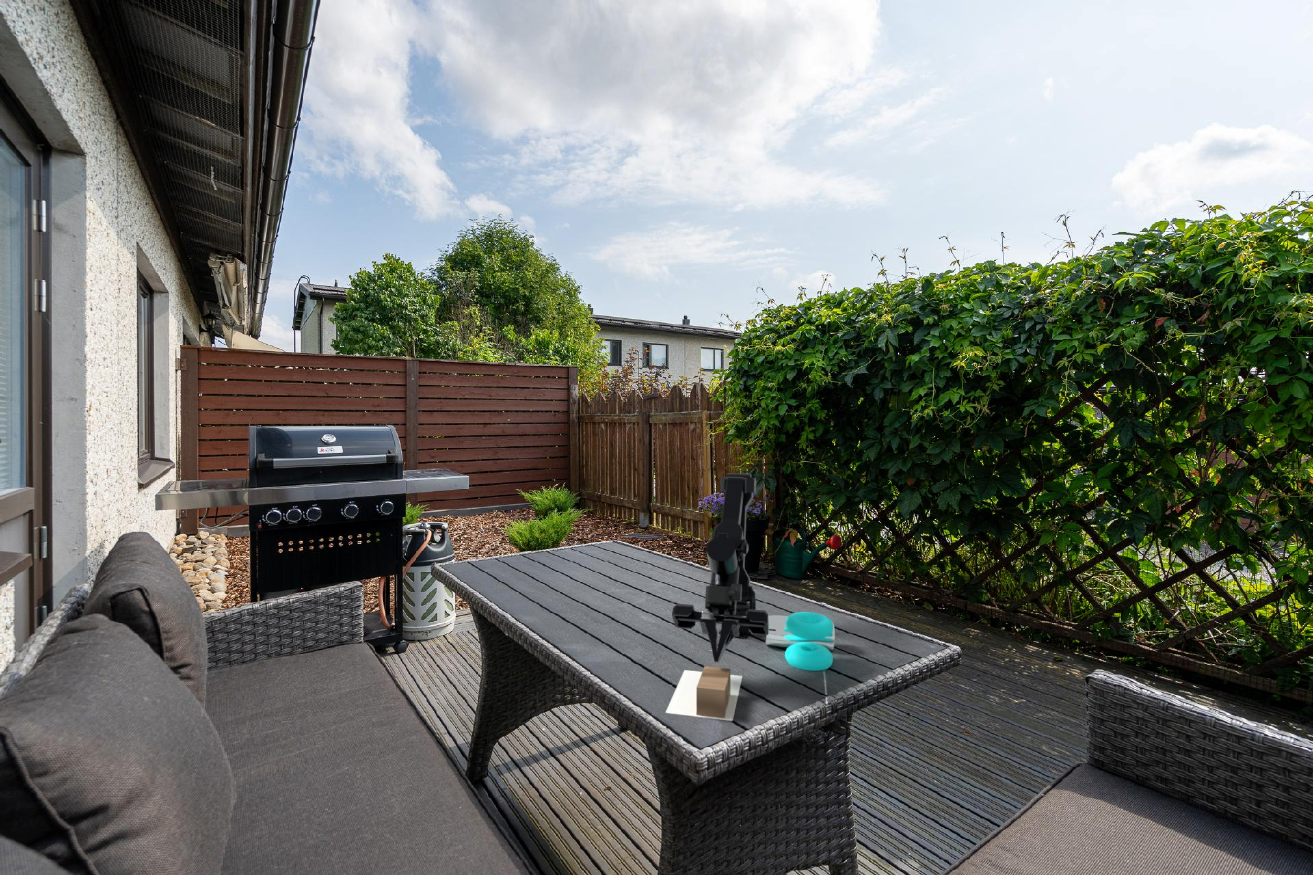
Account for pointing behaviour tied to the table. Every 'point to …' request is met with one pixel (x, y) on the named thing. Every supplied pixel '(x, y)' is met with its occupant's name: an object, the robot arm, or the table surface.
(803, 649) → the donuts
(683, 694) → the white mat
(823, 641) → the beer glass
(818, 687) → the table surface
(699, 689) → the walnut block
